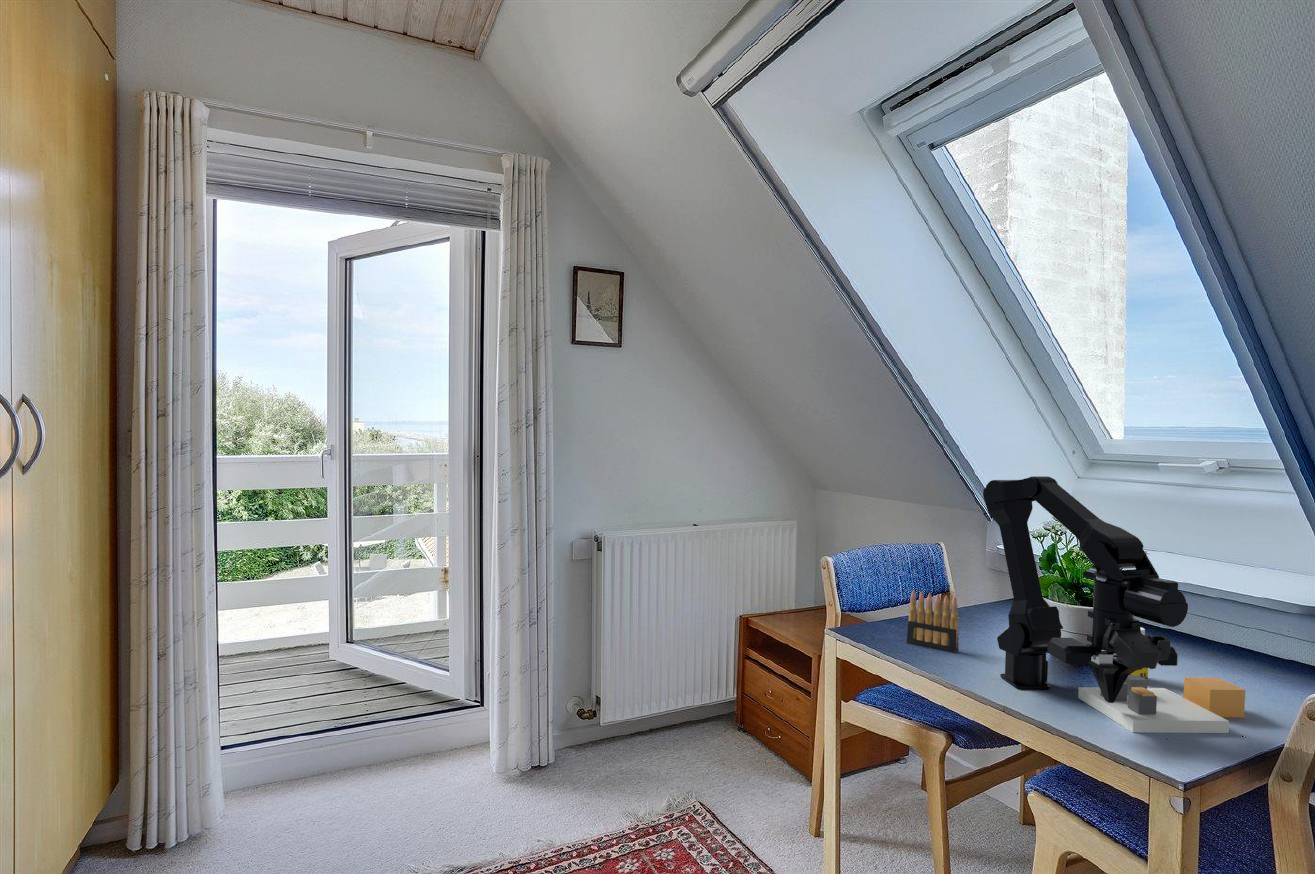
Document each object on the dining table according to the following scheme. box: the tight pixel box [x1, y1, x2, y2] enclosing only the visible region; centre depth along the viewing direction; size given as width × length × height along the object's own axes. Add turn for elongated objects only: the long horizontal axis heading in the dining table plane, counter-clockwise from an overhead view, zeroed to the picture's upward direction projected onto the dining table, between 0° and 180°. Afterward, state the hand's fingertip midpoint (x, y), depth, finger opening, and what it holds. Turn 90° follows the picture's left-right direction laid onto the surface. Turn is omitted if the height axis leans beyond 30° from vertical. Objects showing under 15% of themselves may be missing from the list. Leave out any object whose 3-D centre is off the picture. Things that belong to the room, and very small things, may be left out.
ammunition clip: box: [905, 589, 959, 654], centre depth 155 cm, size 11×2×12 cm, turn 53°
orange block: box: [1183, 676, 1246, 719], centre depth 124 cm, size 6×6×5 cm
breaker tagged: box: [1128, 687, 1157, 714], centre depth 118 cm, size 3×3×4 cm
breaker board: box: [1077, 675, 1230, 734], centre depth 121 cm, size 16×14×5 cm
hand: (1109, 702), depth 117 cm, fingers closed
